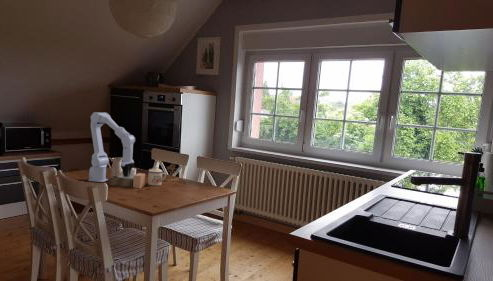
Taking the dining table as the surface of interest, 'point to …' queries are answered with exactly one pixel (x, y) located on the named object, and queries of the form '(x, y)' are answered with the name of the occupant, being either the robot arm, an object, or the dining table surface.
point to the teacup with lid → (155, 176)
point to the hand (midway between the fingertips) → (126, 175)
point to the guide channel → (120, 181)
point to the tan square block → (139, 180)
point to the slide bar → (125, 176)
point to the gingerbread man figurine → (172, 175)
